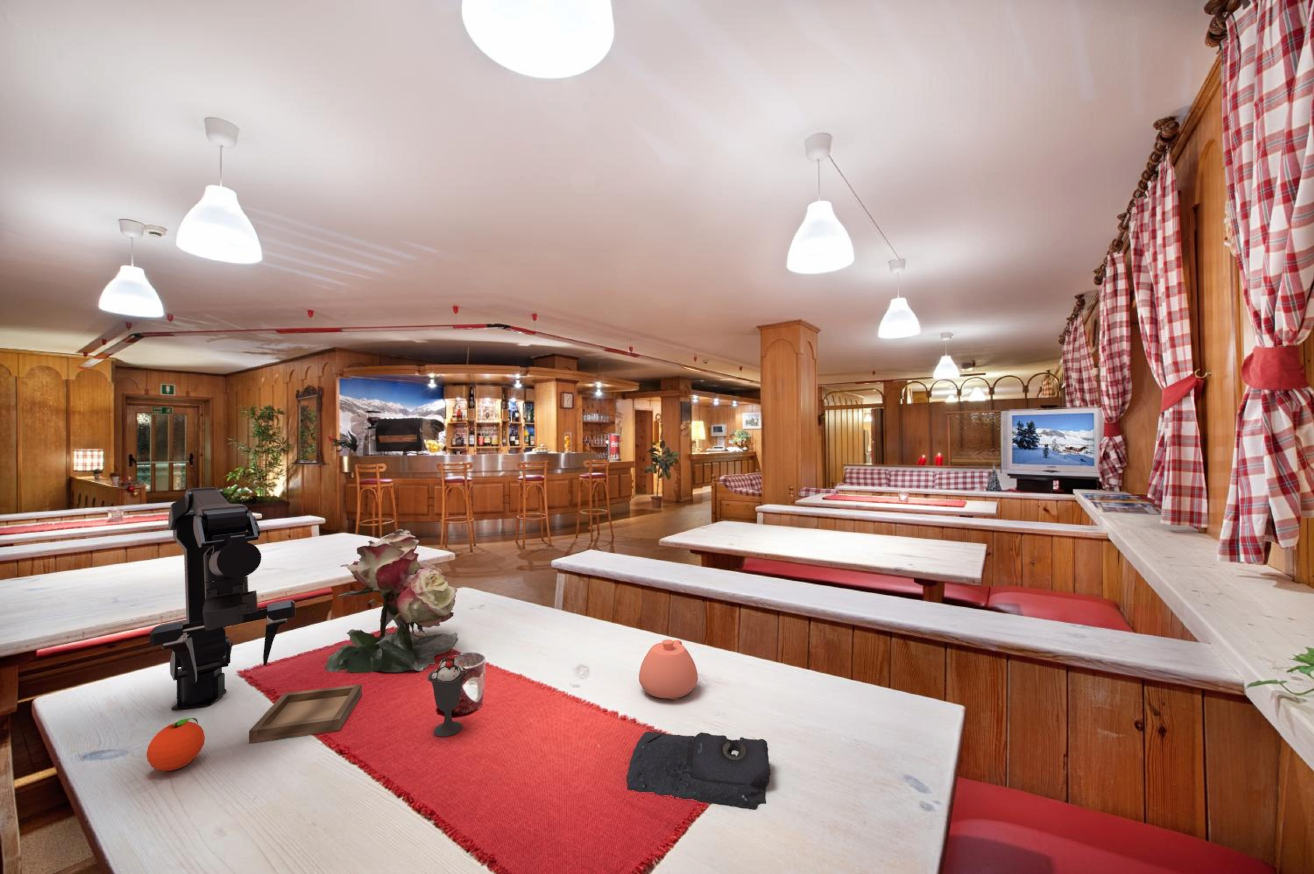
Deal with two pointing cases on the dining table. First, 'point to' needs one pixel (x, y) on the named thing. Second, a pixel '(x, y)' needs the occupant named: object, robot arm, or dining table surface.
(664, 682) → the sugar bowl
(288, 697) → the walnut dish
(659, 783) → the black grommet pouch
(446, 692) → the sundae
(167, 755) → the clementine
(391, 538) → the rose bouquet
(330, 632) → the dining table surface
